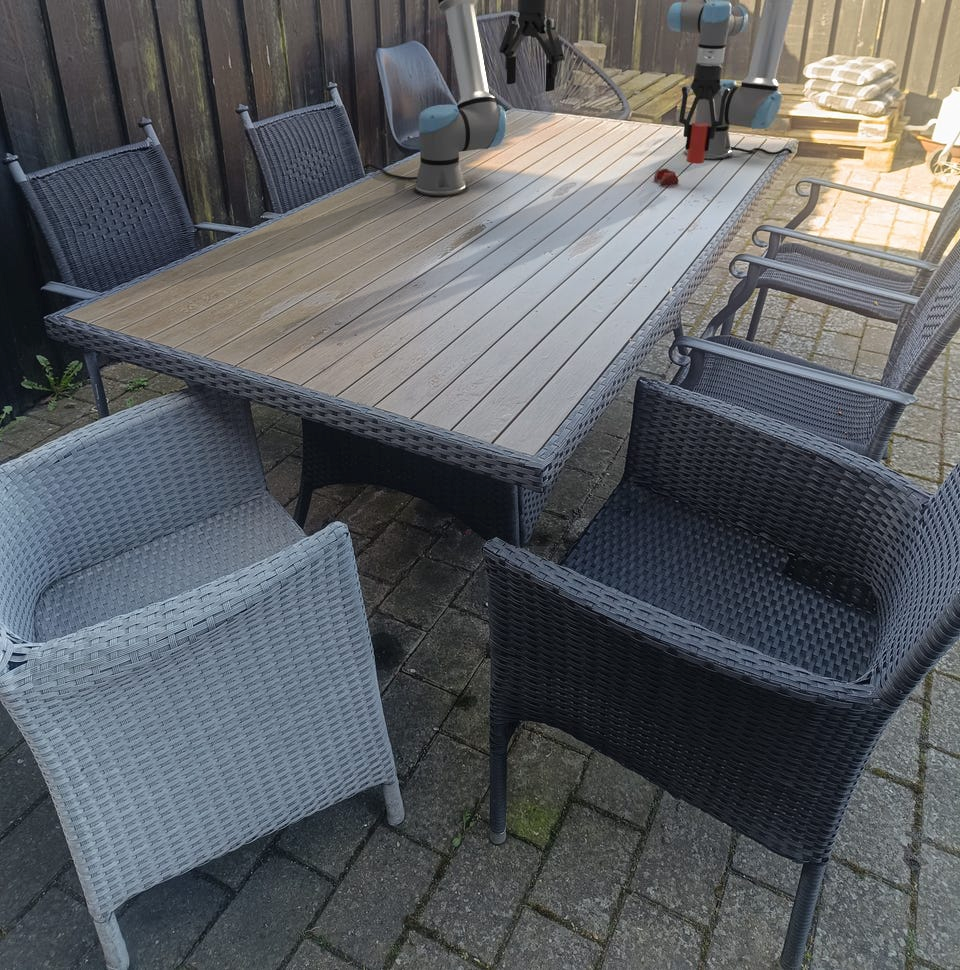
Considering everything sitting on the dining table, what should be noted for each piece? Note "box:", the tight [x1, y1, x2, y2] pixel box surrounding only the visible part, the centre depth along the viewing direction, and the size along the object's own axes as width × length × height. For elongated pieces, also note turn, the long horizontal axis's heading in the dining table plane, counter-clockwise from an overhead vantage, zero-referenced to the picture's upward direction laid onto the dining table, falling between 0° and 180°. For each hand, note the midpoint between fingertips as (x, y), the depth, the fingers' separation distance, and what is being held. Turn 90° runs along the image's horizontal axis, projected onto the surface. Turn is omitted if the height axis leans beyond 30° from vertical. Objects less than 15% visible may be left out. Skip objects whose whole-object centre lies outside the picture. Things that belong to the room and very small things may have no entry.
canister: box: [686, 122, 709, 164], centre depth 252 cm, size 5×5×11 cm
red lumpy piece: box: [653, 168, 679, 187], centre depth 263 cm, size 6×4×8 cm
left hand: (530, 87), depth 222 cm, fingers open, 13 cm apart
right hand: (697, 148), depth 253 cm, fingers closed on canister, 5 cm apart
